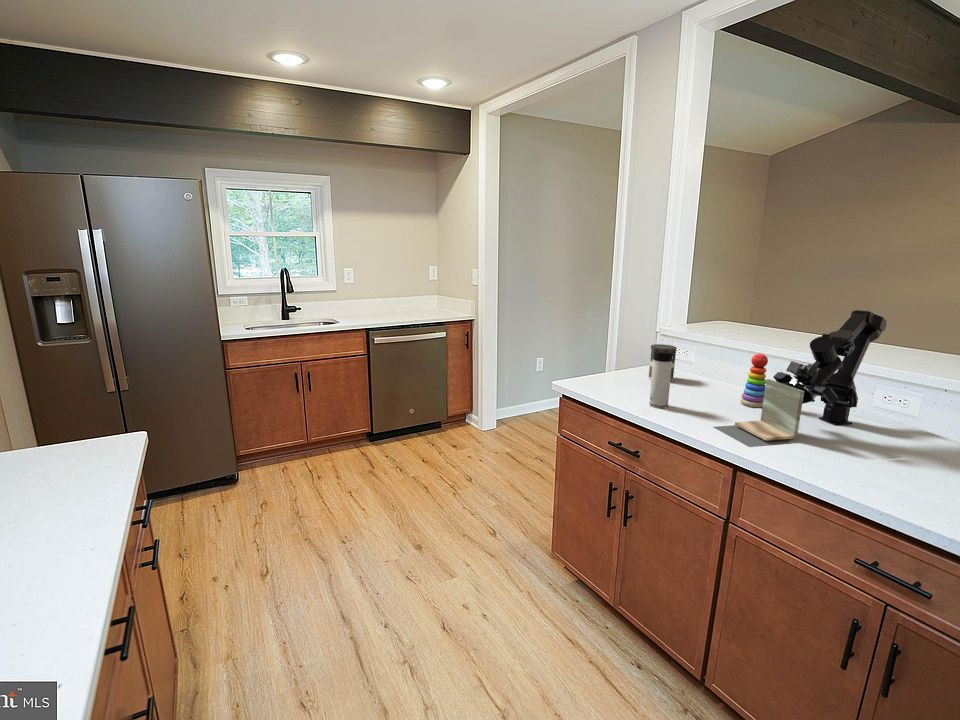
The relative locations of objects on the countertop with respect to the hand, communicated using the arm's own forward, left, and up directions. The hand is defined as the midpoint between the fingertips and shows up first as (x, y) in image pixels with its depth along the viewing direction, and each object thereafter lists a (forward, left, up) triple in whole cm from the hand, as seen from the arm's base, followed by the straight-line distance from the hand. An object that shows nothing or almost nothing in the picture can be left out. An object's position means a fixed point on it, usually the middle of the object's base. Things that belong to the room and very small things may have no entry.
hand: (783, 408), depth 146 cm
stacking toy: (-12, -26, -8) cm, 30 cm away
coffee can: (+1, -65, -8) cm, 66 cm away
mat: (+10, 0, -8) cm, 13 cm away
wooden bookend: (+6, 0, -8) cm, 10 cm away
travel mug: (+22, -31, -8) cm, 39 cm away
